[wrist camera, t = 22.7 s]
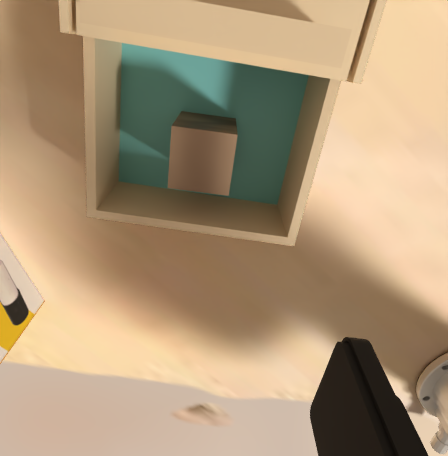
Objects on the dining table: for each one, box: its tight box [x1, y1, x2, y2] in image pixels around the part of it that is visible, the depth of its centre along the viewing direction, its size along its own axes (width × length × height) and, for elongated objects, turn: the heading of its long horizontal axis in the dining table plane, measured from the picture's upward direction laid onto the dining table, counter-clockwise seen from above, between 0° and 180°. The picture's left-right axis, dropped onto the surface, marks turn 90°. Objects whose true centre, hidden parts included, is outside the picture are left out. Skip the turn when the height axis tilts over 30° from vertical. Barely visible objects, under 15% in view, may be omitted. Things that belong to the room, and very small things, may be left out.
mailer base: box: [83, 36, 341, 246], centre depth 26 cm, size 22×16×7 cm
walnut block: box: [168, 111, 238, 196], centre depth 28 cm, size 4×4×6 cm
